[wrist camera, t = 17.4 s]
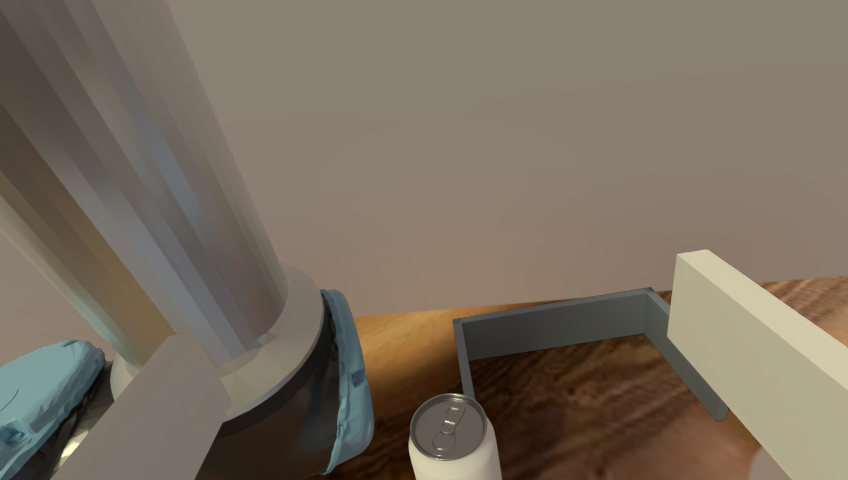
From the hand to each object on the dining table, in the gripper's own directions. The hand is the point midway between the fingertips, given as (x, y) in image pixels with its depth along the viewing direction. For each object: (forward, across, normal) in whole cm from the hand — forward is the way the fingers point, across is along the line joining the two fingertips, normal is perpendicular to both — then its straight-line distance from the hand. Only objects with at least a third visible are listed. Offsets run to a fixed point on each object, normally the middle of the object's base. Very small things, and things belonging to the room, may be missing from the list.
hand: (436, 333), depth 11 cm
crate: (+24, +12, -29) cm, 40 cm away
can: (+11, -1, -30) cm, 31 cm away
